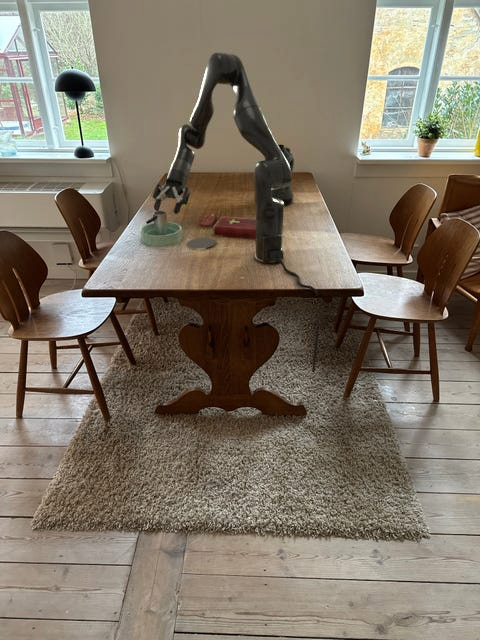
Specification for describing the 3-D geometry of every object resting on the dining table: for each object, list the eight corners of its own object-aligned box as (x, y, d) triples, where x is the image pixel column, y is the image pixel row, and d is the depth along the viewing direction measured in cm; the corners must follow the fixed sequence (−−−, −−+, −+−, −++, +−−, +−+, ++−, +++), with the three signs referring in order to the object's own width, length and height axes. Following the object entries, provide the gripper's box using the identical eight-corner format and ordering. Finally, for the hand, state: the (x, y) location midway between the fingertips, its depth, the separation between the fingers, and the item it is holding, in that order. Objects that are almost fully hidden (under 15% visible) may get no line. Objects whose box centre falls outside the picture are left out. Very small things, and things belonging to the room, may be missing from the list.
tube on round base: (160, 235, 177) (157, 210, 171) (171, 237, 175) (168, 211, 170) (143, 245, 168) (140, 219, 163) (155, 247, 166) (152, 220, 161)
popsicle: (218, 212, 196) (210, 224, 184) (218, 216, 197) (210, 228, 185) (208, 211, 197) (199, 223, 185) (208, 215, 198) (199, 228, 186)
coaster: (216, 248, 167) (216, 246, 167) (189, 250, 165) (189, 249, 165) (212, 238, 175) (212, 236, 175) (186, 240, 173) (186, 239, 173)
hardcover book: (266, 240, 173) (266, 230, 171) (213, 235, 177) (213, 225, 175) (272, 229, 183) (272, 219, 181) (222, 225, 187) (221, 215, 185)
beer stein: (256, 205, 209) (256, 149, 196) (261, 193, 226) (262, 140, 213) (291, 207, 207) (295, 150, 194) (295, 195, 223) (298, 141, 210)
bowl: (184, 245, 169) (183, 234, 167) (142, 249, 166) (141, 237, 164) (180, 231, 182) (179, 220, 180) (141, 234, 179) (139, 223, 177)
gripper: (158, 166, 174) (145, 204, 171) (191, 170, 169) (177, 209, 166) (167, 177, 181) (154, 213, 178) (198, 181, 176) (185, 218, 173)
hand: (165, 211), depth 172 cm, fingers open, 8 cm apart
